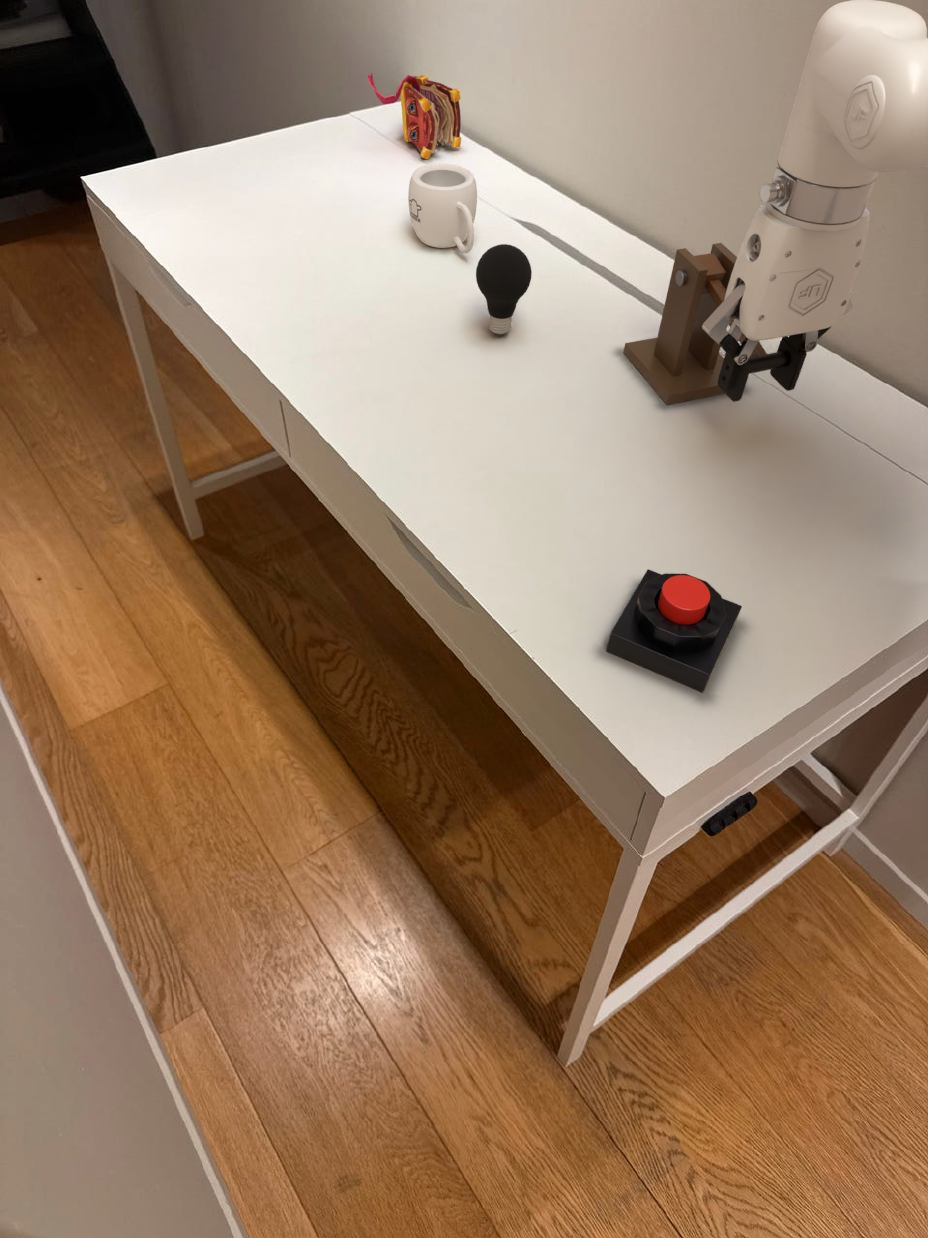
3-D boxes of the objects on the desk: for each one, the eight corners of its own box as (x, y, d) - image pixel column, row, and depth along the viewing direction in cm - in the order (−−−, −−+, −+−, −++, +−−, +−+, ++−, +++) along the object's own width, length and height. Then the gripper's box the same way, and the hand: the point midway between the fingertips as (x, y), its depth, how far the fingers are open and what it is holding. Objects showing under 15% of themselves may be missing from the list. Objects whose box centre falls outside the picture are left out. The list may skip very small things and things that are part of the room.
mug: (397, 230, 114) (396, 167, 108) (455, 218, 116) (457, 155, 110) (440, 273, 107) (441, 207, 101) (501, 258, 110) (505, 194, 104)
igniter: (734, 623, 72) (748, 590, 69) (703, 693, 67) (716, 660, 64) (642, 586, 74) (652, 553, 71) (605, 651, 69) (613, 618, 66)
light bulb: (464, 326, 99) (467, 239, 92) (510, 315, 101) (517, 229, 93) (487, 353, 96) (492, 265, 88) (534, 342, 98) (544, 255, 90)
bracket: (742, 389, 93) (778, 274, 83) (666, 404, 91) (695, 288, 81) (695, 339, 99) (724, 226, 89) (623, 352, 97) (645, 238, 87)
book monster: (465, 151, 130) (391, 169, 127) (438, 130, 135) (366, 147, 132) (463, 70, 122) (384, 87, 118) (434, 51, 127) (358, 67, 124)
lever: (784, 373, 83) (795, 354, 81) (737, 382, 82) (748, 363, 80) (717, 270, 89) (726, 250, 87) (673, 277, 88) (681, 257, 86)
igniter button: (711, 601, 68) (716, 585, 67) (695, 632, 66) (701, 616, 65) (667, 583, 69) (672, 568, 68) (650, 613, 67) (655, 598, 66)
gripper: (751, 226, 66) (695, 427, 79) (937, 198, 70) (854, 394, 83) (700, 184, 70) (656, 381, 84) (878, 160, 74) (808, 352, 88)
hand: (755, 385), depth 83 cm, fingers closed on lever, 5 cm apart
